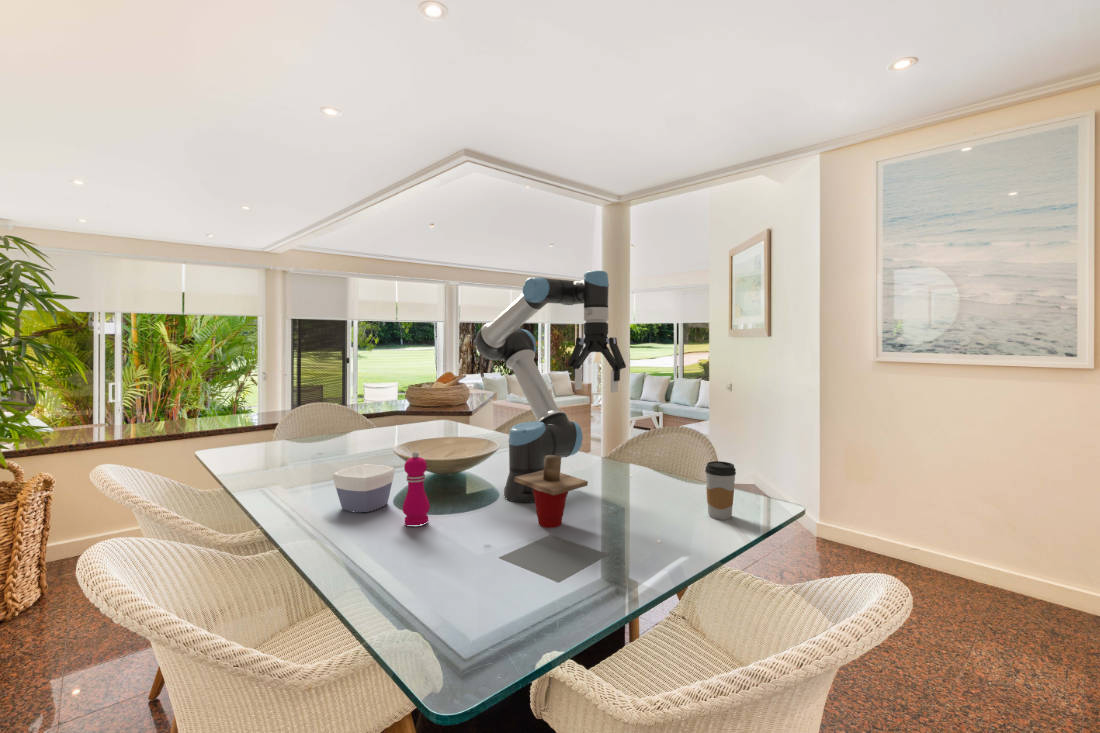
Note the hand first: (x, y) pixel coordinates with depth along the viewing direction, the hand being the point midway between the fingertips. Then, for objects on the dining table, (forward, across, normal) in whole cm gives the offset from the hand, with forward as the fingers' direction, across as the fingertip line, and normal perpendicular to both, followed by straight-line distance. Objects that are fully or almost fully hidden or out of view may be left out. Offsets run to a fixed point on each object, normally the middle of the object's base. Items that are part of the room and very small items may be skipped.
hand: (595, 390), depth 157 cm
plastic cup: (+35, +4, -26) cm, 44 cm away
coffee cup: (+35, +35, +12) cm, 51 cm away
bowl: (+35, -50, -50) cm, 79 cm away
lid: (+23, +4, -26) cm, 35 cm away
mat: (+35, +18, -41) cm, 57 cm away
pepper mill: (+35, -26, -48) cm, 65 cm away
